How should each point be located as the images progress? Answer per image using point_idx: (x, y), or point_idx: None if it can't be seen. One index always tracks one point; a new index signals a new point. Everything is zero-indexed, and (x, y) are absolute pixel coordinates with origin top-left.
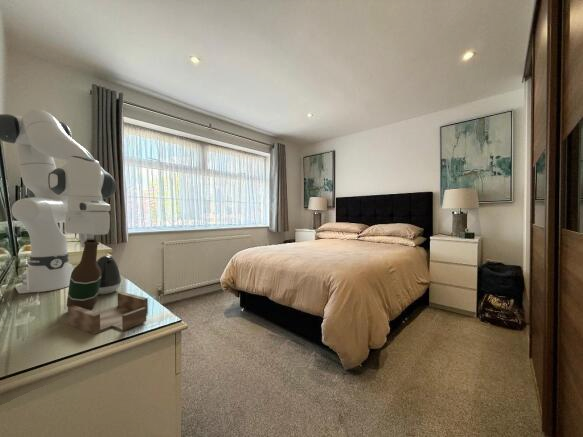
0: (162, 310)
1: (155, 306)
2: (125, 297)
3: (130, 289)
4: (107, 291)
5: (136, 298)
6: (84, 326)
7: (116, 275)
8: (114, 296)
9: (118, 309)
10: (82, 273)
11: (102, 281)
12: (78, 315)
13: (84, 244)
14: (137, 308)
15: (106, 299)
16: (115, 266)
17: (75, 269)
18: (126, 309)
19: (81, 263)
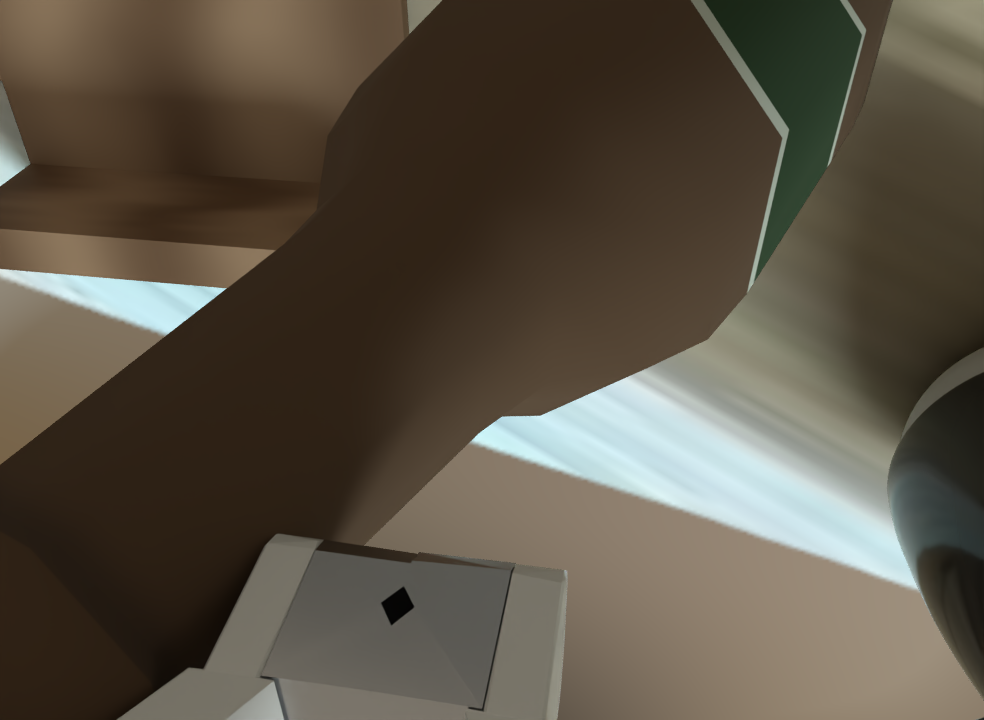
0: (40, 279)
1: (172, 315)
2: (240, 233)
3: (841, 525)
4: (929, 387)
5: (50, 230)
6: None
7: (917, 583)
8: (793, 357)
9: (308, 136)
10: (376, 80)
11: (977, 439)
12: None
13: (313, 614)
14: (91, 183)
15: (784, 278)
16: (981, 696)
17: (514, 63)
18: (244, 165)
19: (392, 183)
